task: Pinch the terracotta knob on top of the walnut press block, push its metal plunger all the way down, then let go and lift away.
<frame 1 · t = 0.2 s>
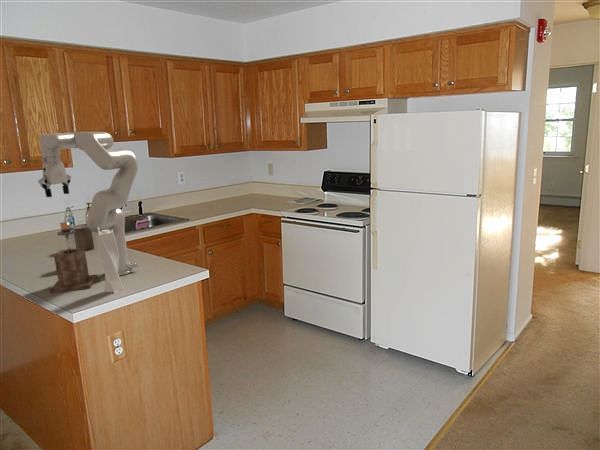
hand: (58, 195, 225), 37 cm above the worktop, tool pointing down, fingers open, 9 cm apart
skyscraper: (114, 290, 196), on the worktop
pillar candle: (85, 249, 268), on the worktop
plunger: (68, 242, 202), point 20 cm above the worktop, slide at 0.0 cm
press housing: (75, 284, 206), on the worktop
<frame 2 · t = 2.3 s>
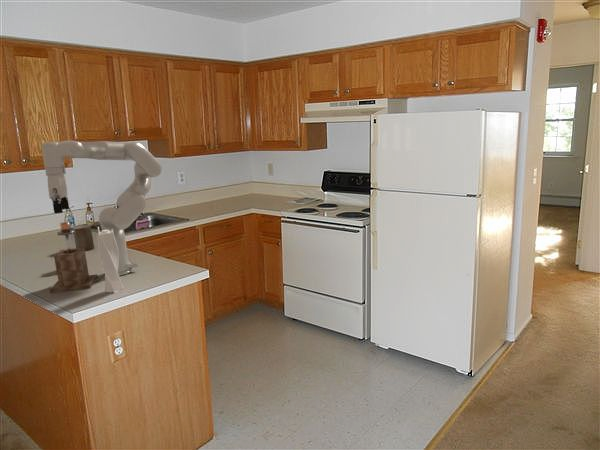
hand: (62, 211, 199), 34 cm above the worktop, tool pointing down, fingers open, 9 cm apart
nothing on the worktop moved.
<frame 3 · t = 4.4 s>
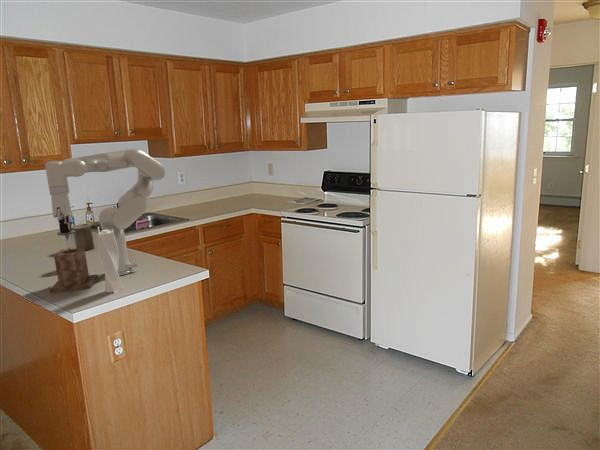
hand: (66, 231, 201), 25 cm above the worktop, tool pointing down, fingers closed on plunger, 3 cm apart
plunger: (68, 242, 202), point 19 cm above the worktop, slide at 0.1 cm, touching gripper
everything else where it was.
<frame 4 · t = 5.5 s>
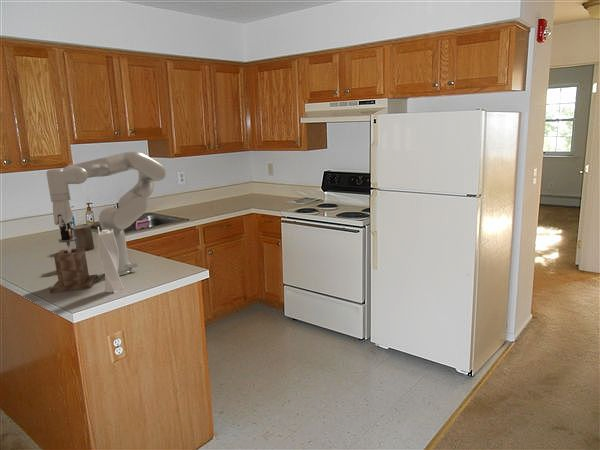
hand: (67, 238, 201), 22 cm above the worktop, tool pointing down, fingers closed on plunger, 3 cm apart
plunger: (69, 249, 203), point 16 cm above the worktop, slide at 3.2 cm, touching gripper
everything else where it was.
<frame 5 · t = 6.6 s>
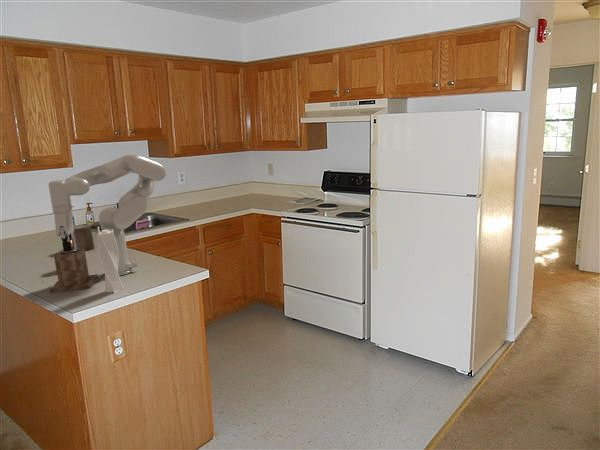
hand: (69, 249, 203), 17 cm above the worktop, tool pointing down, fingers closed on plunger, 3 cm apart
plunger: (71, 260, 204), point 11 cm above the worktop, slide at 8.2 cm, touching gripper
everything else where it was.
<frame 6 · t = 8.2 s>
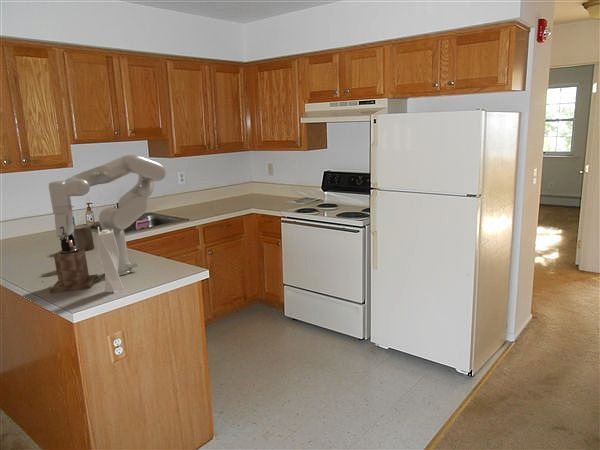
hand: (69, 248, 202), 17 cm above the worktop, tool pointing down, fingers open, 7 cm apart
plunger: (71, 260, 204), point 11 cm above the worktop, slide at 8.1 cm
everything else where it was.
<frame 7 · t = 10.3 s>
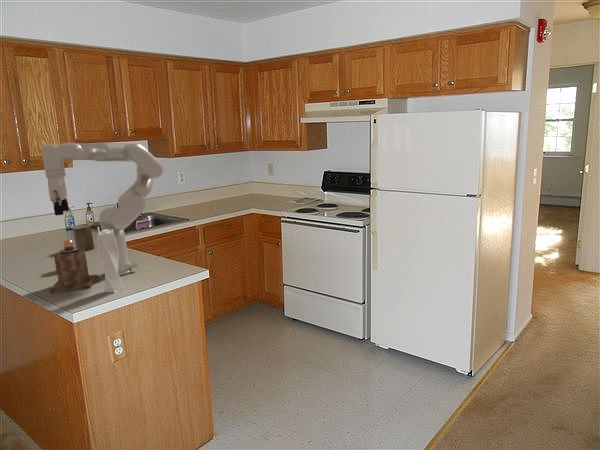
hand: (62, 212, 200), 33 cm above the worktop, tool pointing down, fingers open, 9 cm apart
nothing on the worktop moved.
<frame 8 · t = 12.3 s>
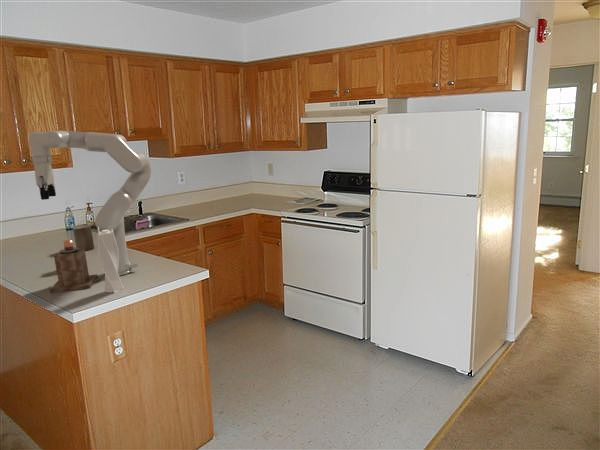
hand: (48, 197, 209), 38 cm above the worktop, tool pointing down, fingers open, 9 cm apart
nothing on the worktop moved.
at the end: plunger slide at 8.1 cm; the gripper is holding nothing; skyscraper moved 0.2 cm from its start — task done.
